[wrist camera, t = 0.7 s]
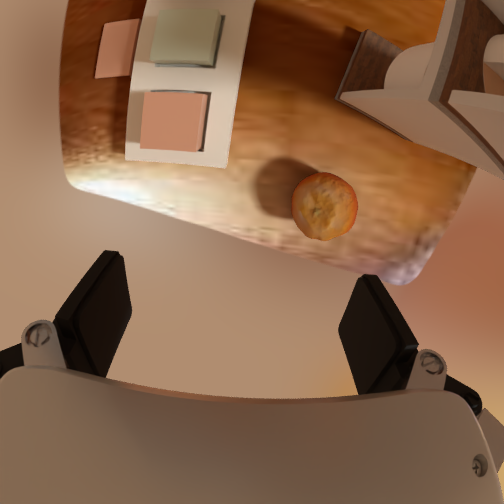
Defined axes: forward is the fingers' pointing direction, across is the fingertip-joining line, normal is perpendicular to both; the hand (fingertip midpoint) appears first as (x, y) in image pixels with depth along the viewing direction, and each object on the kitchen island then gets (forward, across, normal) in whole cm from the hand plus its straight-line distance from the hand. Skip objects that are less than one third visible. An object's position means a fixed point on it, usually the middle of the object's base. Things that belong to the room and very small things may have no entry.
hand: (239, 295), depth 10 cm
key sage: (+22, +8, -15) cm, 28 cm away
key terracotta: (+22, +8, -5) cm, 24 cm away
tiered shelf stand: (+25, -16, -14) cm, 33 cm away
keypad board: (+25, +8, -15) cm, 30 cm away
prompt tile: (+25, +18, -15) cm, 34 cm away
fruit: (+25, -10, +3) cm, 27 cm away
